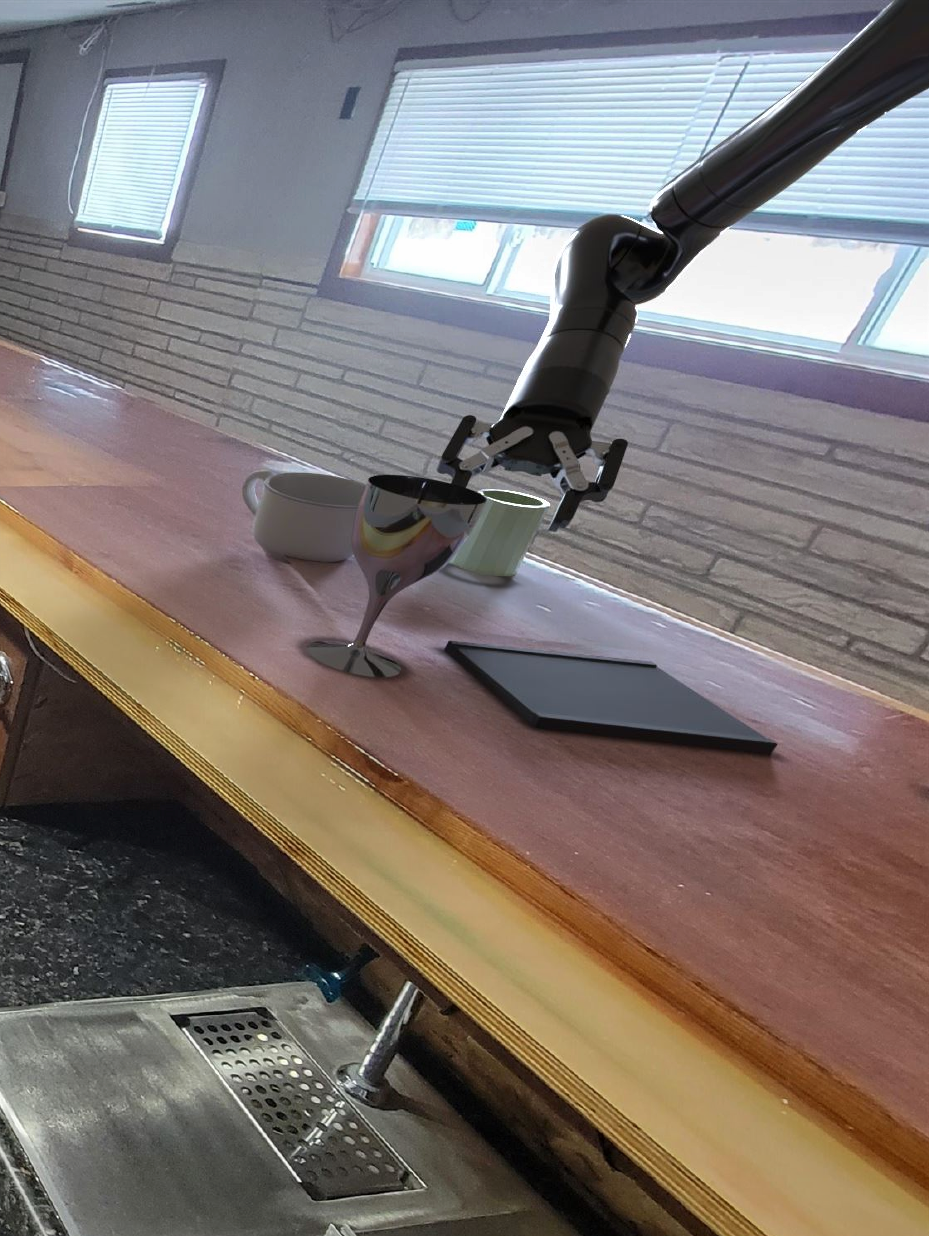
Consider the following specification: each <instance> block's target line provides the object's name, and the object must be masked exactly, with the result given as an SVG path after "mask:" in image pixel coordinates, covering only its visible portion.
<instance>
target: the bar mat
mask: <svg viewBox="0 0 929 1236" xmlns="http://www.w3.org/2000/svg"><path fill="white" fill-rule="evenodd" d="M443 652H444V653H446V654H447V655H448V656H449V657H450V658H451V659H453V661H455V662H456V663H457V664H459V665H460V666H461V667H462V668H463V669H464V670H465V671H467V672H468V674H470V675H471V676H472V677H473V678H475V680H476V681H478V682H480V684H482V685H483V687H485V688H486V689H487V690H488V691H490V692H491V693H492V694H493V695H495V697H497V698H498V699H499V700H500V701H502V703H504V705H506V706H507V707H508V708H510V710H512V711H513V712H514V713H515V714H517V715H518V717H520V718H521V719H522V720H523V721H524V722H525V723H527V724H528V725H529V726H530V727H532V729H535V730H543V731H544V730H545V731H553V732H561V733H572V734H578V735H579V734H581V735H587V736H598V737H606V738H614V739H621V740H622V739H623V740H633V741H641V742H648V743H649V742H650V743H658V744H667V745H668V744H669V745H675V746H676V745H677V746H685V747H694V748H703V749H710V750H720V751H729V752H737V753H738V752H739V753H747V754H756V755H763V756H771V754H773V752H774V751H775V749H776V748H777V746H778V742H776V741H774V740H773V739H771V738H767V737H766V736H765V735H763V734H761V733H760V732H758V731H756V730H755V729H754V728H752V727H751V726H749V725H747V724H746V723H744V722H743V721H741V720H740V719H739V718H736V717H735V716H733V714H730V713H729V712H727V711H726V710H724V709H722V708H721V707H720V706H719V705H717V704H715V703H714V702H712V701H710V700H709V699H708V698H706V697H704V696H703V695H702V694H700V693H698V692H697V691H695V690H694V689H692V688H691V687H689V686H687V685H686V684H684V683H683V682H681V681H680V680H678V679H676V677H674V676H672V675H671V674H669V673H667V672H666V671H664V670H663V669H661V668H660V667H658V665H657V664H656V663H655V662H653V661H650V660H640V659H631V658H620V657H610V656H603V655H593V654H583V653H573V652H563V651H554V650H544V649H536V648H535V649H534V648H526V647H525V648H524V647H514V646H505V645H497V644H488V643H487V644H486V643H475V642H469V641H468V642H467V641H457V640H448V642H446V645H445V646H444V650H443Z"/></svg>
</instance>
